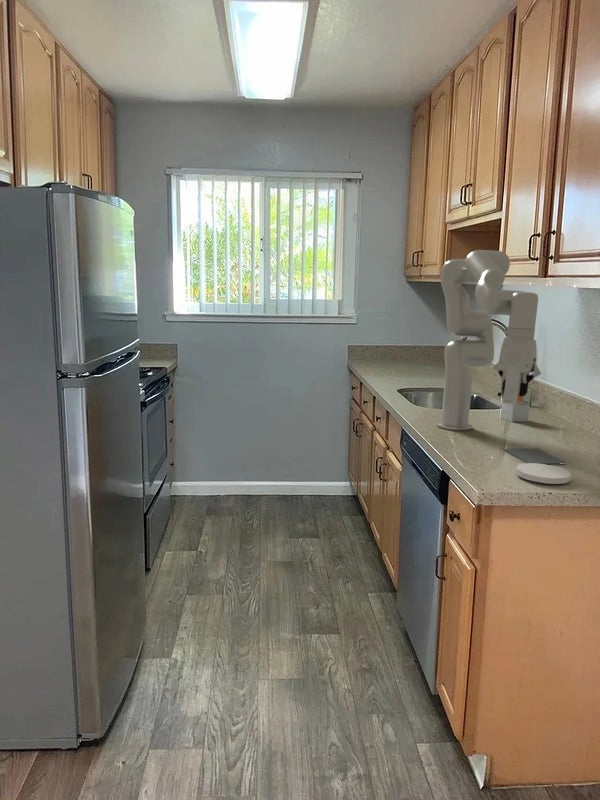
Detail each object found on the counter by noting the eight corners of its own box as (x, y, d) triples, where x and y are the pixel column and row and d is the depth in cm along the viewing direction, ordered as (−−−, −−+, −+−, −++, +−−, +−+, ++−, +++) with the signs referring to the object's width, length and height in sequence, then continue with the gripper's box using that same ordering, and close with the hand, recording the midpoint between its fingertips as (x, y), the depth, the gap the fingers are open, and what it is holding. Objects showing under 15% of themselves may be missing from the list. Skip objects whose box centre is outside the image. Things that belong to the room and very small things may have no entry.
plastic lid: (504, 475, 177) (505, 466, 177) (538, 469, 184) (539, 460, 184) (546, 490, 166) (547, 481, 165) (580, 483, 173) (582, 474, 172)
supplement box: (511, 422, 245) (515, 389, 243) (500, 418, 252) (503, 386, 250) (528, 421, 247) (531, 389, 245) (516, 417, 254) (520, 386, 252)
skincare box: (516, 405, 190) (521, 365, 188) (502, 403, 193) (506, 364, 191) (523, 402, 195) (528, 364, 193) (509, 400, 198) (514, 362, 195)
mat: (503, 450, 203) (503, 448, 203) (537, 449, 205) (538, 448, 205) (529, 464, 188) (529, 463, 187) (566, 464, 190) (566, 462, 190)
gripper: (488, 332, 193) (482, 391, 197) (543, 337, 182) (536, 400, 185) (500, 331, 198) (494, 389, 202) (554, 336, 187) (546, 397, 191)
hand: (514, 393), depth 194 cm, fingers closed on skincare box, 4 cm apart
